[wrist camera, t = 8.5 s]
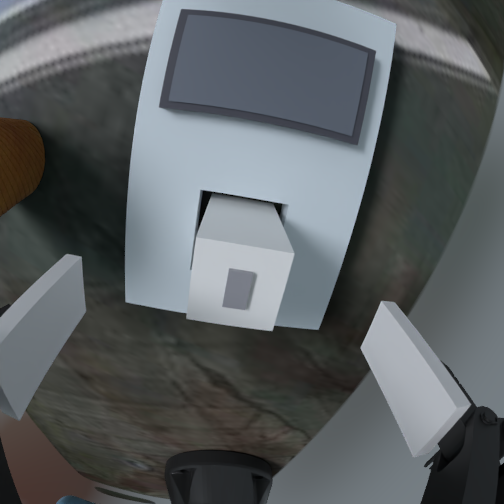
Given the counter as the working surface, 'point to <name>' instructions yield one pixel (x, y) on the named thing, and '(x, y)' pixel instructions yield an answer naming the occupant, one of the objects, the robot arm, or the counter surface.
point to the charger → (239, 264)
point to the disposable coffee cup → (19, 161)
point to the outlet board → (248, 168)
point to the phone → (268, 73)
